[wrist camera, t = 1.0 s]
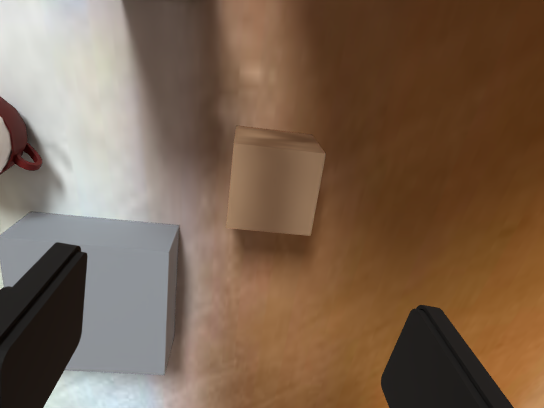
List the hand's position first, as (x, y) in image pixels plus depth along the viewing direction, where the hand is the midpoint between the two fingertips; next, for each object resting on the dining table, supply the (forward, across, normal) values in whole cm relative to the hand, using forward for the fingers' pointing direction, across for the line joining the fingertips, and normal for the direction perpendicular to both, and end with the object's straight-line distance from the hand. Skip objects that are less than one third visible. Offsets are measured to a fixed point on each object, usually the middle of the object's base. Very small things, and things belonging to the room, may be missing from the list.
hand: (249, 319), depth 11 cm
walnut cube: (+21, -2, +2) cm, 22 cm away
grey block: (+22, +10, +15) cm, 28 cm away
